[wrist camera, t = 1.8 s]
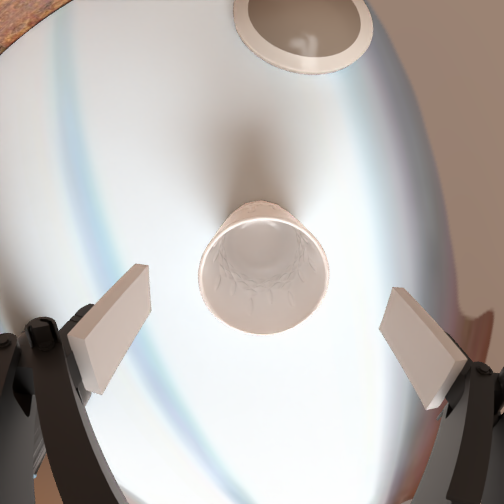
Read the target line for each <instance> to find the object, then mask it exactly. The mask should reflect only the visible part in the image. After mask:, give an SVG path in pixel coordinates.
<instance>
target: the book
mask: <svg viewBox="0 0 504 504" xmlns="http://www.w3.org/2000/svg"><path fill="white" fill-rule="evenodd" d="M71 1H72V0H0V55H1V54H2V53H3V52H4V51H5V50H6V49H7V48H8V47H10V46H11V45H12V44H13V43H14V42H15V41H16V40H18V39H19V38H20V37H21V36H22V35H24V34H25V33H26V32H27V31H29V30H30V29H31V28H33V27H34V26H35V25H37V24H38V23H39V22H41V21H42V20H43V19H45V18H46V17H48V16H49V15H50V14H52V13H53V12H55V11H56V10H58V9H59V8H61V7H63V6H64V5H66V4H67V3H69V2H71Z"/></svg>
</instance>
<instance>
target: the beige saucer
mask: <svg viewBox="0 0 504 504" xmlns="http://www.w3.org/2000/svg"><path fill="white" fill-rule="evenodd" d="M233 14H234V22H235V26H236V30H237V32H238V34H239V36H240V38H241V40H242V41H243V43H244V44H245V45H246V46H247V47H248V48H249V50H250V51H252V52H253V53H254V54H255V55H256V56H258V57H259V58H261V59H262V60H263V61H265V62H267V63H269V64H271V65H273V66H275V67H278V68H280V69H283V70H286V71H289V72H294V73H299V74H307V75H320V74H328V73H333V72H336V71H339V70H342V69H344V68H346V67H348V66H349V65H351V64H352V63H353V62H355V61H356V60H357V59H358V58H359V57H361V56H362V55H363V54H364V52H365V51H366V50H367V48H368V47H369V45H370V42H371V40H372V35H373V23H372V18H371V15H370V12H369V10H368V8H367V6H366V4H365V3H364V1H363V0H235V1H234V5H233Z"/></svg>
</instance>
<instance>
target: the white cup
mask: <svg viewBox="0 0 504 504" xmlns="http://www.w3.org/2000/svg"><path fill="white" fill-rule="evenodd" d="M198 283H199V289H200V293H201V296H202V298H203V300H204V302H205V304H206V306H207V307H208V309H209V310H210V312H211V313H212V314H213V315H214V316H215V317H216V318H217V319H218V320H219V321H220V322H222V323H223V324H225V325H226V326H228V327H230V328H231V329H234V330H236V331H238V332H241V333H245V334H249V335H256V336H269V335H276V334H281V333H284V332H287V331H290V330H292V329H294V328H296V327H298V326H299V325H301V324H303V323H304V322H305V321H307V320H308V319H309V318H310V317H311V316H312V315H313V314H314V313H315V312H316V311H317V309H318V308H319V306H320V305H321V303H322V301H323V299H324V297H325V295H326V292H327V289H328V284H329V265H328V261H327V257H326V254H325V252H324V250H323V248H322V246H321V245H320V243H319V242H318V240H317V239H316V238H315V237H314V236H313V235H312V234H311V233H310V232H309V231H308V230H307V229H306V228H305V227H304V226H303V224H302V223H301V222H300V221H299V220H298V219H296V218H295V217H294V216H293V215H292V214H290V213H289V212H288V211H287V210H285V209H283V208H282V207H280V206H279V205H278V204H275V203H271V202H267V201H263V200H259V201H254V202H249V203H244V204H243V205H242V206H240V207H239V208H238V209H236V210H235V211H234V212H233V213H231V215H230V216H229V217H228V218H227V219H226V220H225V221H224V223H223V224H222V225H221V226H220V228H219V229H218V231H217V232H216V234H215V235H214V237H213V238H212V240H211V241H210V243H209V244H208V246H207V247H206V249H205V251H204V253H203V255H202V258H201V261H200V264H199V270H198Z"/></svg>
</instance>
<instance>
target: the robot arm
mask: <svg viewBox="0 0 504 504" xmlns="http://www.w3.org/2000/svg"><path fill="white" fill-rule="evenodd" d="M150 312H151V300H150V285H149V265H142V264H134V265H133V266H132V267H131V268H130V269H129V270H128V271H127V272H126V273H125V274H124V275H123V276H122V277H121V278H120V279H119V280H118V281H117V282H116V283H115V284H114V285H113V286H112V287H111V288H110V289H109V290H108V291H107V292H106V293H105V294H104V295H103V297H102V298H101V299H100V300H99V301H98V302H97V303H96V304H95V305H94V304H88V305H86V306H84V307H82V308H80V309H79V310H78V312H77V313H76V314H75V316H73V317H72V318H71V319H70V321H68V322H67V323H66V324H65V325H64V326H63V327H62V328H61V329H60V330H59V331H58V328H57V324H56V322H55V320H53V319H52V318H49V317H39V318H35V319H33V320H31V321H30V322H29V323H28V324H27V325H26V326H25V329H24V330H25V331H24V332H22V333H21V334H20V335H19V336H18V337H16V336H15V335H14V334H12V333H3V334H0V504H35V495H34V478H36V476H37V475H36V474H37V471H38V469H39V467H40V465H41V463H42V461H43V459H44V457H45V455H46V453H47V456H48V459H49V463H50V466H51V470H52V473H53V476H54V479H55V482H56V485H57V487H58V490H59V493H60V496H61V498H62V501H63V504H129V503H128V502H127V500H126V498H125V496H124V495H123V493H122V491H121V489H120V487H119V486H118V484H117V482H116V480H115V478H114V476H113V474H112V472H111V470H110V468H109V466H108V464H107V462H106V459H105V457H104V455H103V453H102V450H101V448H100V446H99V443H98V441H97V439H96V436H95V434H94V431H93V429H92V426H91V423H90V421H89V418H88V415H87V412H86V409H85V406H86V404H87V402H88V400H89V399H90V397H91V392H93V393H97V394H100V395H102V394H103V392H104V391H105V389H106V387H107V385H108V383H109V382H110V380H111V378H112V376H113V375H114V373H115V371H116V369H117V368H118V366H119V364H120V362H121V361H122V359H123V357H124V355H125V354H126V352H127V350H128V349H129V347H130V345H131V344H132V342H133V340H134V339H135V337H136V335H137V334H138V332H139V330H140V329H141V327H142V325H143V324H144V322H145V320H146V319H147V317H148V316H149V314H150ZM379 330H380V331H381V333H382V335H383V336H384V338H385V340H386V341H387V343H388V344H389V346H390V348H391V349H392V351H393V353H394V354H395V356H396V358H397V359H398V361H399V363H400V365H401V366H402V368H403V370H404V371H405V373H406V375H407V377H408V378H409V380H410V382H411V384H412V385H413V387H414V389H415V391H416V393H417V394H418V396H419V398H420V400H421V402H422V404H423V406H424V407H425V409H426V410H428V409H432V408H437V407H439V406H440V404H441V403H442V401H443V400H444V398H446V399H447V401H448V403H447V405H446V406H445V408H444V409H443V410H442V412H441V413H440V415H439V416H438V417H437V419H436V420H439V419H440V417H442V419H441V423H440V427H439V430H438V433H437V437H436V440H435V443H434V446H433V449H432V452H431V455H430V458H429V461H428V464H427V466H426V469H425V471H424V474H423V477H422V479H421V481H420V484H419V486H418V488H417V491H416V493H415V495H414V497H413V499H412V502H411V504H480V503H481V504H504V413H503V414H502V415H501V413H500V410H501V409H502V408H503V406H504V367H503V369H502V371H501V372H500V373H493V371H492V369H491V368H490V367H489V366H487V365H486V364H484V363H482V362H474V363H473V362H472V360H471V359H470V358H469V357H468V356H467V354H466V353H465V352H464V351H463V350H462V349H461V347H460V348H459V345H458V344H457V343H455V340H454V339H453V338H452V337H451V336H450V335H449V334H448V333H446V332H445V331H443V330H442V329H441V327H440V326H439V325H438V324H437V323H436V322H435V321H434V320H433V318H432V317H431V316H430V315H429V314H428V313H427V312H426V311H425V310H424V309H423V308H422V307H421V306H420V304H419V303H418V302H417V301H416V300H415V299H414V298H413V297H412V296H411V295H410V294H409V293H408V292H407V291H406V290H405V289H404V288H398V287H392V291H391V294H390V297H389V300H388V304H387V307H386V310H385V313H384V316H383V319H382V322H381V325H380V327H379Z"/></svg>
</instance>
